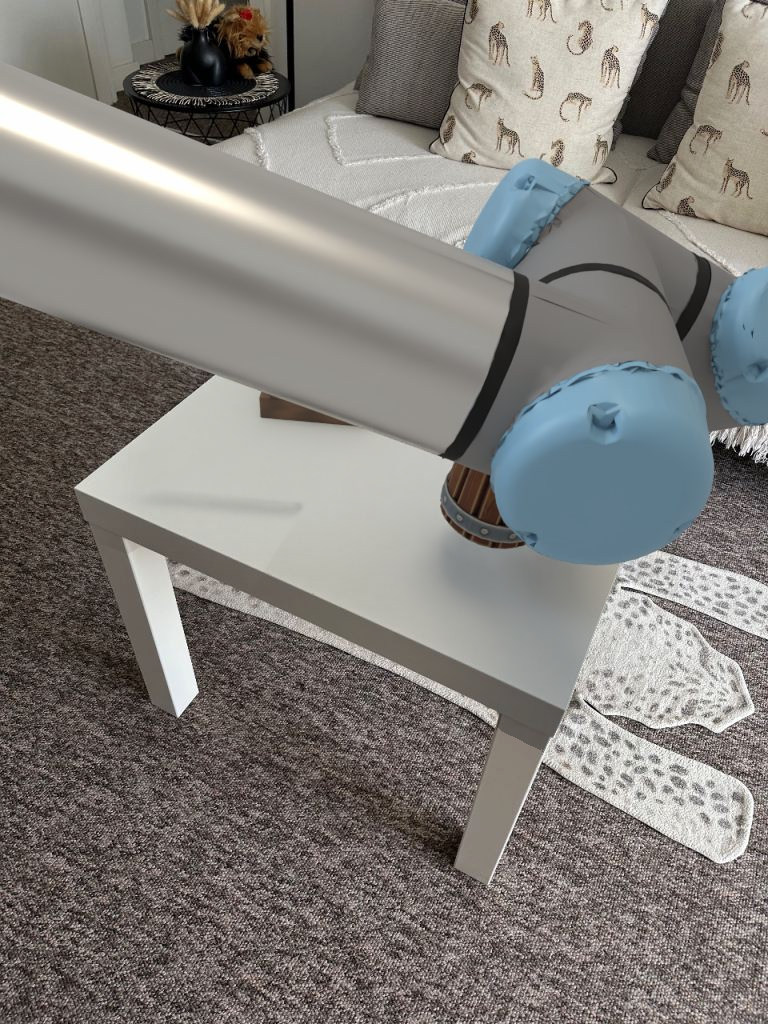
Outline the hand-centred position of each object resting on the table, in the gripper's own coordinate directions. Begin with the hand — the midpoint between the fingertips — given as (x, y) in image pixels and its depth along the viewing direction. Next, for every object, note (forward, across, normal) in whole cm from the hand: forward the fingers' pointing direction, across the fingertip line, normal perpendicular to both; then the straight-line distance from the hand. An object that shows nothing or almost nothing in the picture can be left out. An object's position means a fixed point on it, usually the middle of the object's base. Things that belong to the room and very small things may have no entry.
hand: (492, 438), depth 70 cm
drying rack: (+29, -11, +12) cm, 33 cm away
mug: (+2, 0, -6) cm, 7 cm away
